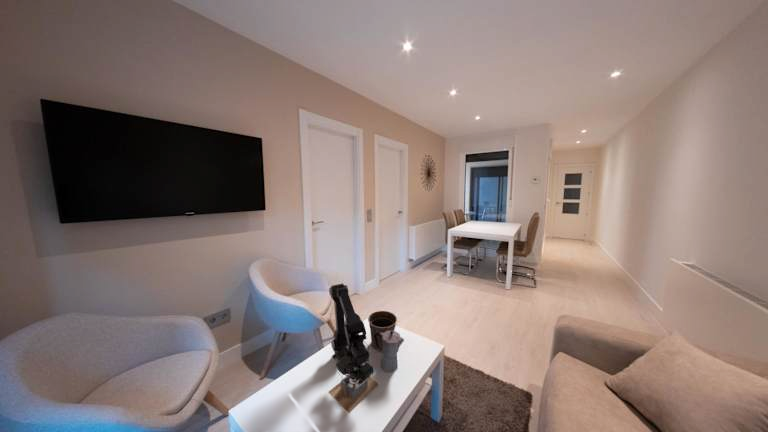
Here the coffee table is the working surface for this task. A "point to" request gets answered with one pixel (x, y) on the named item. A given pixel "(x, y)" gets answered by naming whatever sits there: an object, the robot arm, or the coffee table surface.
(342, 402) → the board
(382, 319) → the plant pot
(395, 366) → the moka pot
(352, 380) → the plunger
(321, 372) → the coffee table surface
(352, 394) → the press
